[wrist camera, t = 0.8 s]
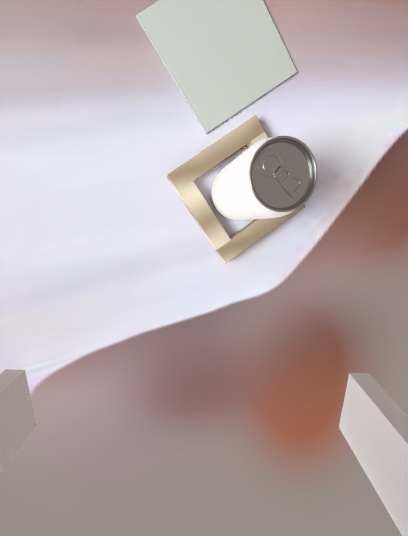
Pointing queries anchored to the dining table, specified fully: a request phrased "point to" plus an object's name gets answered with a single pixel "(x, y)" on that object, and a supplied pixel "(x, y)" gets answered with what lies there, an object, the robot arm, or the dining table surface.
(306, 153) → the can
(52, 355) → the dining table surface
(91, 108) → the dining table surface
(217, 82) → the mat
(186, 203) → the holder
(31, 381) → the dining table surface
